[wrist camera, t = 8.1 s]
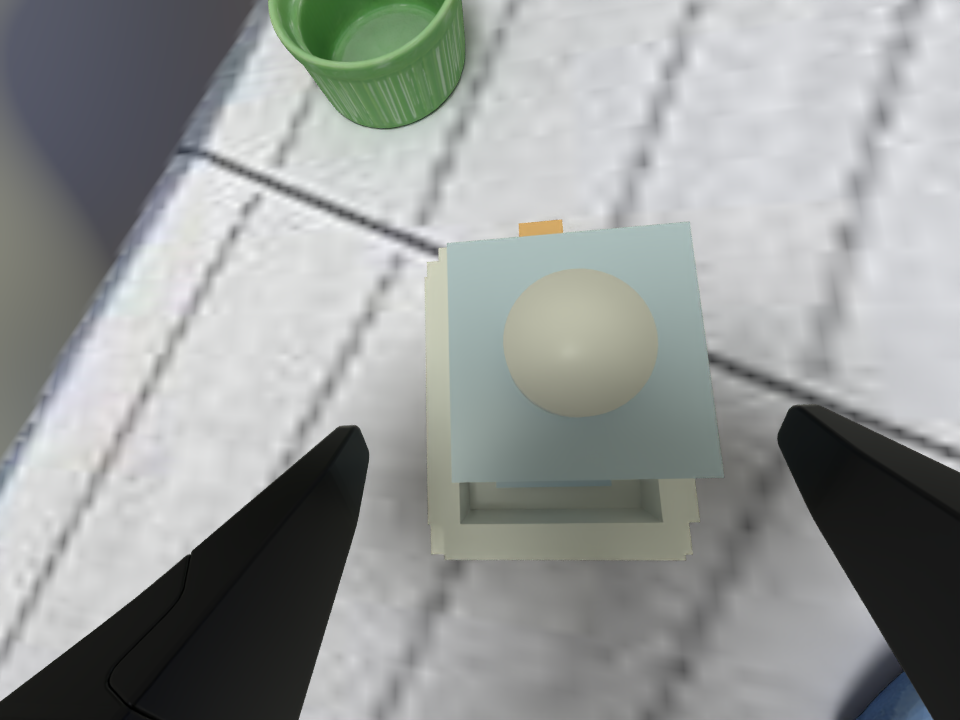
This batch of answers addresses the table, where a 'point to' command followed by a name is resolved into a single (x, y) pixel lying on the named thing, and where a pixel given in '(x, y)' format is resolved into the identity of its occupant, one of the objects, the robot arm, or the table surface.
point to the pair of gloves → (897, 703)
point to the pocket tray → (537, 510)
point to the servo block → (579, 359)
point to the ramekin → (376, 53)
